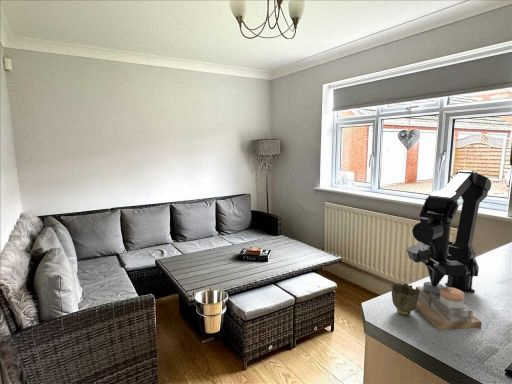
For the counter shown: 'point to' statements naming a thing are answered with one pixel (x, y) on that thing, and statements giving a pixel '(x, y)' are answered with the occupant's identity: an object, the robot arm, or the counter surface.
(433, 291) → the plunger grey
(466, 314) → the button board
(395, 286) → the cup
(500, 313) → the counter surface
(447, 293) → the plunger terracotta
